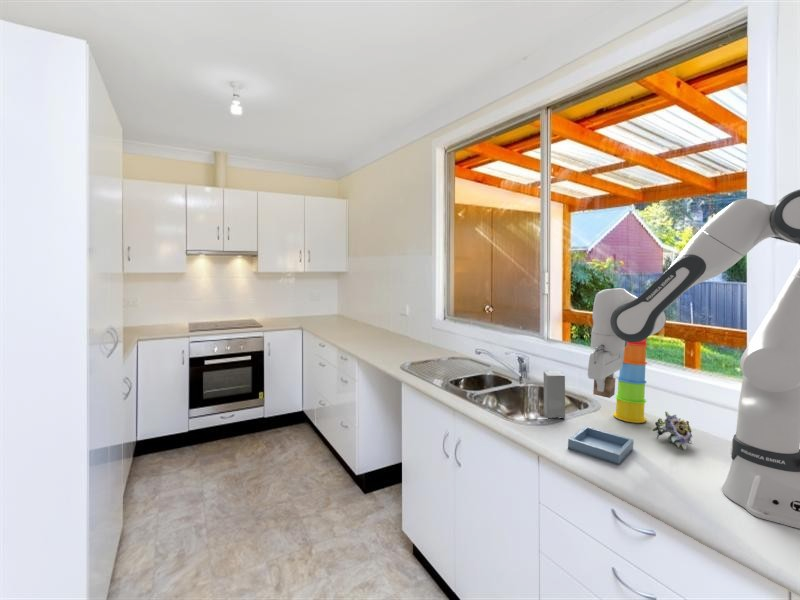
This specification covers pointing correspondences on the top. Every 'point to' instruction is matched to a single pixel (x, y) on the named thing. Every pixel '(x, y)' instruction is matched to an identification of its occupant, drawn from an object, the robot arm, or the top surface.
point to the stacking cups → (632, 384)
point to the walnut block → (606, 388)
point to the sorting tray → (601, 445)
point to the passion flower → (675, 430)
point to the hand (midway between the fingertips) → (604, 388)
